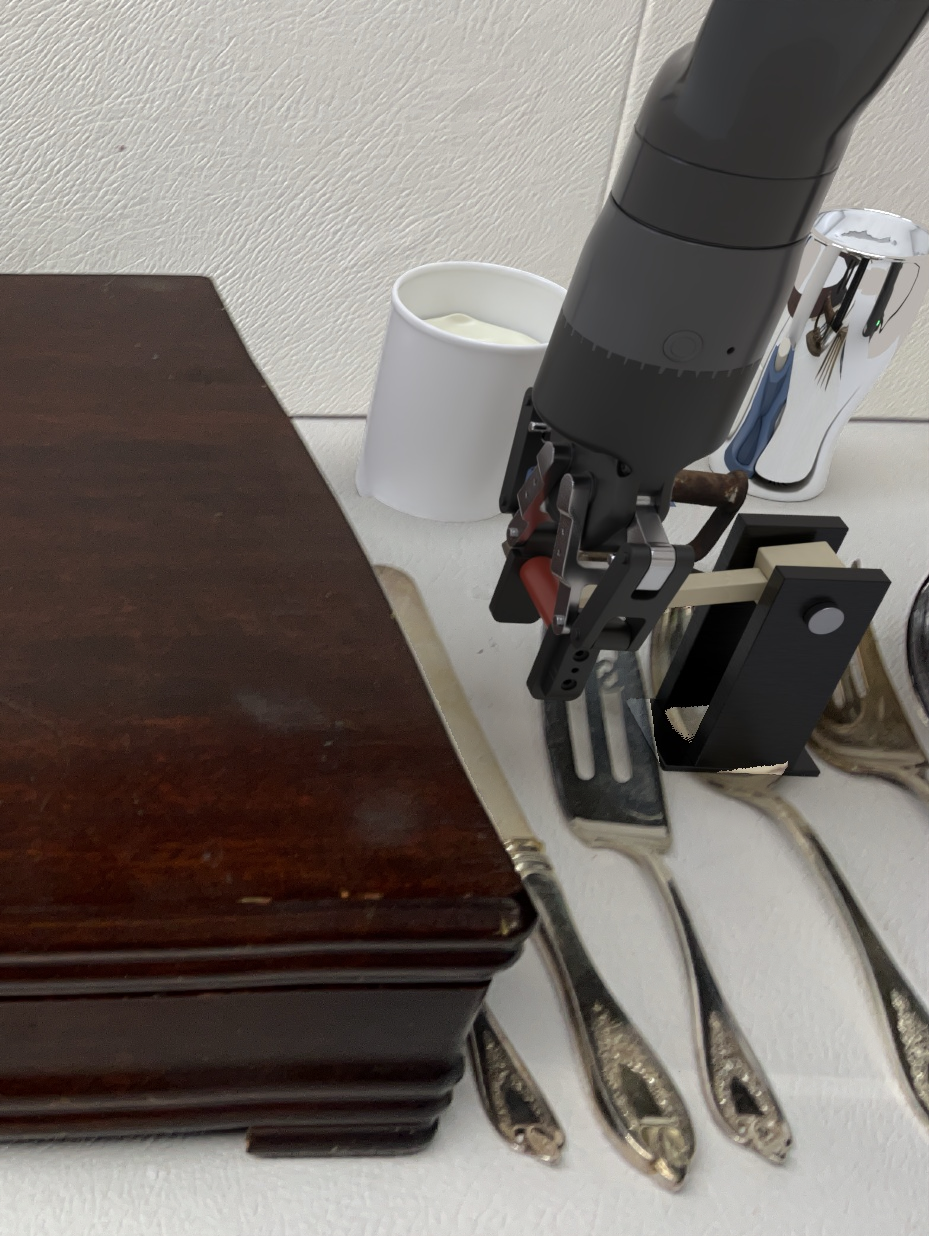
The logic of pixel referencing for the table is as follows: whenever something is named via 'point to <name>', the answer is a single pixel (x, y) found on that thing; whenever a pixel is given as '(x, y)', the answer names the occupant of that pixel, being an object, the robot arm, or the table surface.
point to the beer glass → (827, 348)
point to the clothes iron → (698, 490)
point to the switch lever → (692, 578)
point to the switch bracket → (766, 653)
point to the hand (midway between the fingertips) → (531, 654)
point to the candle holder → (453, 386)
